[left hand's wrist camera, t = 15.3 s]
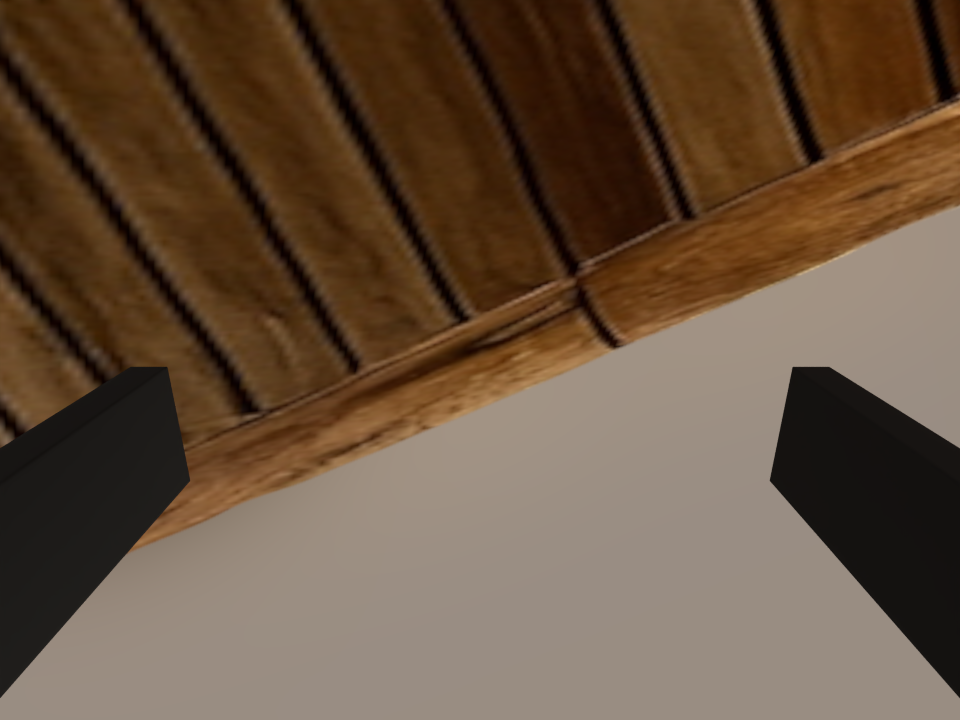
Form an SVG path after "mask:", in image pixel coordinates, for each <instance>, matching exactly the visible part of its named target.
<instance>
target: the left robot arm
mask: <svg viewBox="0 0 960 720" xmlns="http://www.w3.org/2000/svg"><path fill="white" fill-rule="evenodd" d="M189 482H190V477H189V472H188V467H187V462H186V457H185V452H184V447H183V442H182V437H181V432H180V427H179V423H178V418H177V413H176V408H175V403H174V398H173V393H172V388H171V383H170V378H169V373H168V368H167V367H130V368H128V369H127V370H125V371H123V372H122V373H120V374H119V375H117V376H115V377H114V378H112V379H111V380H109V381H107V382H106V383H104V384H103V385H101V386H99V387H98V388H96V389H95V390H93V391H91V392H90V393H88V394H87V395H85V396H83V397H82V398H80V399H79V400H77V401H75V402H74V403H72V404H71V405H69V406H67V407H66V408H64V409H63V410H61V411H59V412H58V413H56V414H55V415H53V416H51V417H50V418H48V419H47V420H45V421H43V422H42V423H40V424H38V425H37V426H35V427H34V428H32V429H30V430H29V431H27V432H26V433H24V434H22V435H21V436H19V437H18V438H16V439H14V440H13V441H11V442H10V443H8V444H6V445H5V446H3V447H2V448H0V698H1V697H2V695H3V694H4V693H5V692H6V691H7V690H8V689H9V687H10V686H11V685H12V684H13V683H14V682H15V681H16V679H17V678H18V677H19V676H20V675H21V674H22V673H23V671H24V670H25V669H26V668H27V667H28V666H29V665H30V663H31V662H32V661H33V660H34V659H35V658H36V656H37V655H38V654H39V653H40V652H41V651H42V650H43V649H44V647H45V646H46V645H47V644H48V643H49V642H50V640H51V639H52V638H53V637H54V636H55V635H56V634H57V632H58V631H59V630H60V629H61V628H62V627H63V626H64V625H65V623H66V622H67V621H68V620H69V619H70V618H71V616H72V615H73V614H74V613H75V612H76V611H77V610H78V608H79V607H80V606H81V605H82V604H83V603H84V602H85V600H86V599H87V598H88V597H89V596H90V595H91V594H92V592H93V591H94V590H95V589H96V588H97V587H98V586H99V584H100V583H101V582H102V581H103V580H104V579H105V578H106V576H107V575H108V574H109V573H110V572H111V571H112V570H113V568H114V567H115V566H116V565H117V564H118V563H119V562H120V560H121V559H122V558H123V557H124V556H125V555H126V554H127V552H128V551H129V550H130V549H131V548H132V547H133V546H134V544H135V543H136V542H137V541H138V540H139V539H140V538H141V536H142V535H143V534H144V533H145V532H146V531H147V530H148V528H149V527H150V526H151V525H152V524H153V523H154V522H155V520H156V519H157V518H158V517H159V516H160V515H161V514H162V512H163V511H164V510H165V509H166V508H167V507H168V506H169V504H170V503H171V502H172V501H173V500H174V499H175V498H176V496H177V495H178V494H179V493H180V492H181V491H182V490H183V488H184V487H185V486H186V485H187V484H188V483H189ZM770 482H771V483H772V484H773V485H774V486H775V487H776V488H777V490H778V491H779V492H780V493H781V494H782V495H783V496H784V497H785V499H786V500H787V501H788V502H789V503H790V504H791V506H792V507H793V508H794V509H795V510H796V511H797V512H798V514H799V515H800V516H801V517H802V518H803V519H804V520H805V522H806V523H807V524H808V525H809V526H810V527H811V528H812V530H813V531H814V532H815V533H816V534H817V535H818V536H819V538H820V539H821V540H822V541H823V542H824V543H825V544H826V545H827V547H828V548H829V549H830V550H831V551H832V552H833V554H834V555H835V556H836V557H837V558H838V559H839V560H840V562H841V563H842V564H843V565H844V566H845V567H846V568H847V570H848V571H849V572H850V573H851V574H852V575H853V576H854V578H855V579H856V580H857V581H858V582H859V583H860V584H861V586H862V587H863V588H864V589H865V590H866V591H867V592H868V594H869V595H870V596H871V597H872V598H873V599H874V600H875V602H876V603H877V604H878V605H879V606H880V607H881V608H882V610H883V611H884V612H885V613H886V614H887V615H888V617H889V618H890V619H891V620H892V621H893V622H894V623H895V625H896V626H897V627H898V628H899V629H900V630H901V631H902V633H903V634H904V635H905V636H906V637H907V638H908V639H909V640H910V642H911V643H912V644H913V645H914V646H915V647H916V649H917V650H918V651H919V652H920V653H921V654H922V655H923V657H924V658H925V659H926V660H927V661H928V662H929V663H930V665H931V666H932V667H933V668H934V669H935V670H936V671H937V673H938V674H939V675H940V676H941V677H942V678H943V679H944V681H945V682H946V683H947V684H948V685H949V686H950V687H951V689H952V690H953V691H954V692H955V693H956V694H957V695H958V697H959V698H960V448H958V447H957V446H955V445H954V444H952V443H950V442H949V441H947V440H945V439H944V438H942V437H941V436H939V435H938V434H936V433H934V432H933V431H931V430H930V429H928V428H926V427H925V426H923V425H921V424H920V423H918V422H917V421H915V420H913V419H912V418H910V417H909V416H907V415H905V414H904V413H902V412H901V411H899V410H897V409H896V408H894V407H893V406H891V405H889V404H888V403H886V402H885V401H883V400H881V399H880V398H878V397H877V396H875V395H873V394H872V393H870V392H869V391H867V390H865V389H864V388H862V387H861V386H859V385H857V384H856V383H854V382H852V381H851V380H849V379H848V378H846V377H844V376H843V375H841V374H840V373H838V372H836V371H835V370H833V369H832V368H830V367H793V368H792V373H791V378H790V383H789V388H788V393H787V398H786V403H785V408H784V413H783V418H782V423H781V427H780V432H779V437H778V442H777V447H776V452H775V457H774V462H773V467H772V472H771V477H770Z"/></svg>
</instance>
